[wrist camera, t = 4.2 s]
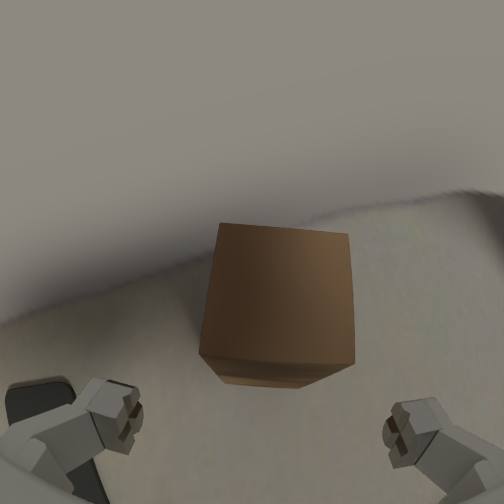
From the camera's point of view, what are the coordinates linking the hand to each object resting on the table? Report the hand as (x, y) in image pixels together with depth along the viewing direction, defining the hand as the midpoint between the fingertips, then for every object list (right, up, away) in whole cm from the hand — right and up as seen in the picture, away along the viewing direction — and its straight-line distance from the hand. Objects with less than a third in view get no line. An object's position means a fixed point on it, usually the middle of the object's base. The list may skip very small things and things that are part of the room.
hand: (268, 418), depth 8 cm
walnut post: (0, -1, +10) cm, 10 cm away
